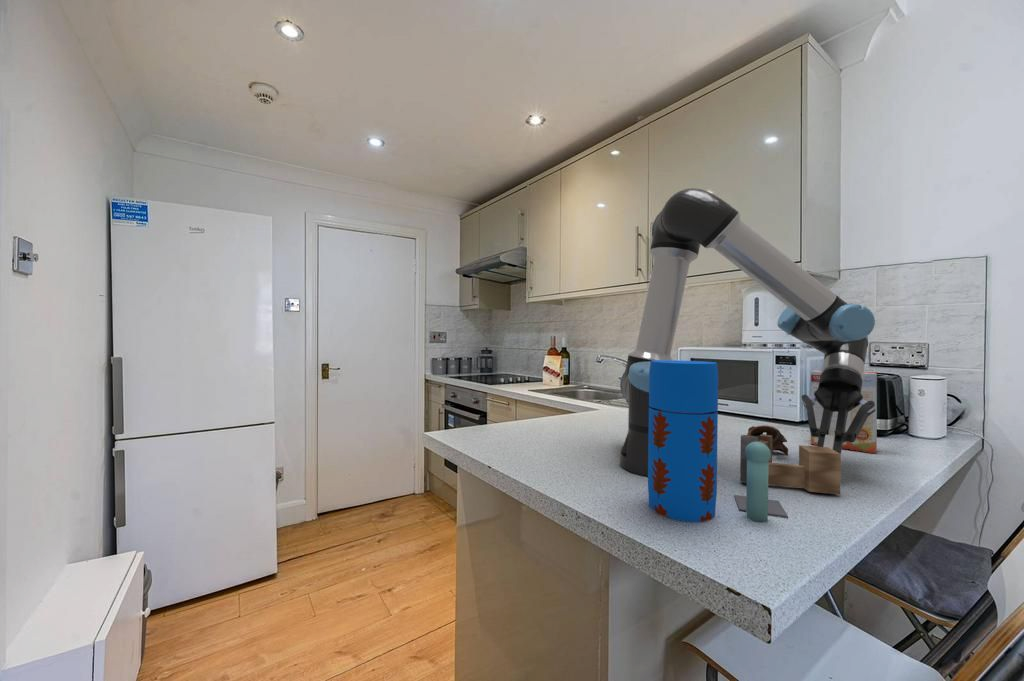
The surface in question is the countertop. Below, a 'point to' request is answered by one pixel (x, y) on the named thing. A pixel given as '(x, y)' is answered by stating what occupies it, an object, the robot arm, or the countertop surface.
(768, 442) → the fence
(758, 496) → the post
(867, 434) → the cracker box
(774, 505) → the pad
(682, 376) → the thermos
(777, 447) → the pottery mug
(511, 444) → the countertop surface
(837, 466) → the wooden u-shaped block
